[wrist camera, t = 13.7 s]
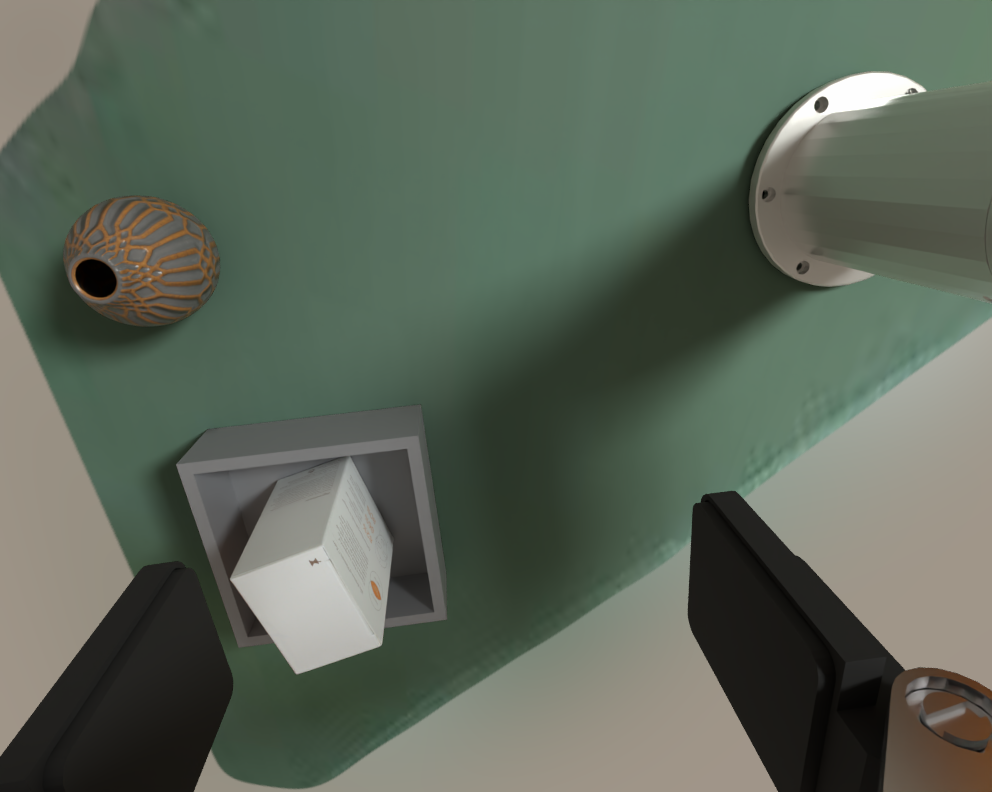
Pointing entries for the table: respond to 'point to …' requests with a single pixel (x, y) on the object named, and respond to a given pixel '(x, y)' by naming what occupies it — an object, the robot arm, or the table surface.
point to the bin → (301, 446)
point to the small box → (318, 566)
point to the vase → (141, 260)
